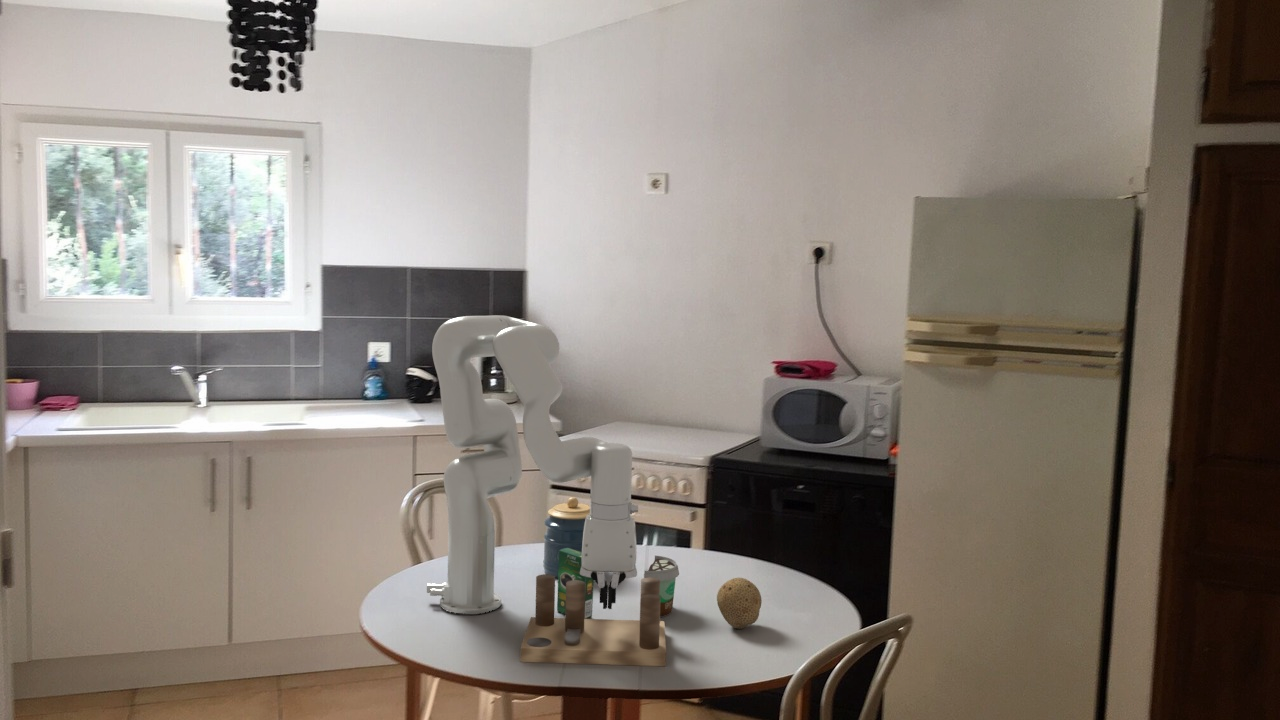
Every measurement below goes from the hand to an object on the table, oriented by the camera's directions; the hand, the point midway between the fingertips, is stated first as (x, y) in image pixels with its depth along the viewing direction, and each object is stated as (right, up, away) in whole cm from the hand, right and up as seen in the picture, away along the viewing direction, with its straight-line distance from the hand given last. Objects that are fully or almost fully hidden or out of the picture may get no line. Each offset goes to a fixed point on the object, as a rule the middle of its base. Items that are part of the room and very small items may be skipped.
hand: (607, 606), depth 187 cm
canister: (-10, -3, +46) cm, 47 cm away
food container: (+11, -6, +21) cm, 24 cm away
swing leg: (-6, -5, -2) cm, 8 cm away
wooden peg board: (-2, -8, 0) cm, 8 cm away
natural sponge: (+26, -7, +13) cm, 30 cm away
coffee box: (-7, -6, +17) cm, 19 cm away
